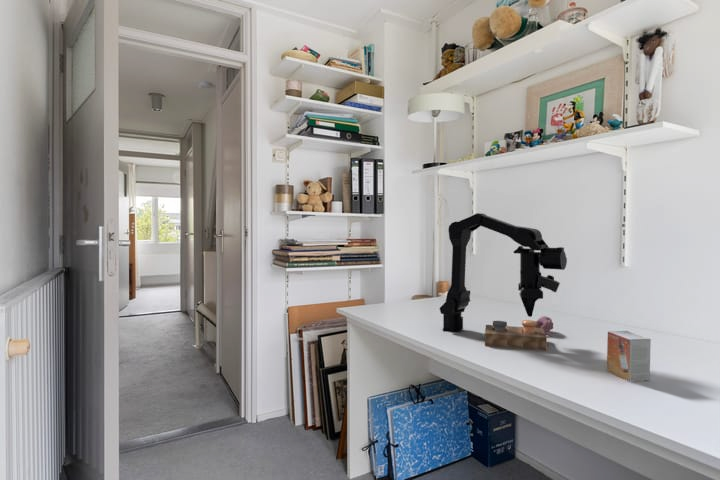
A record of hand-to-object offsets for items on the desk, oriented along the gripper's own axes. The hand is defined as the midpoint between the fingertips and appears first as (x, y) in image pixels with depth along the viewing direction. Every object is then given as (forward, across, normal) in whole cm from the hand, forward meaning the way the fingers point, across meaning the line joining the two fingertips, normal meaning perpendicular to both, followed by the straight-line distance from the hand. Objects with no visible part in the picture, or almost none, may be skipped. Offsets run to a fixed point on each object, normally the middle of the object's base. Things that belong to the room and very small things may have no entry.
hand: (529, 316), depth 132 cm
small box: (+9, -23, -21) cm, 33 cm away
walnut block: (+9, 0, +5) cm, 10 cm away
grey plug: (+9, 0, +9) cm, 13 cm away
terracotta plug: (+8, 0, 0) cm, 8 cm away
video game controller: (+9, +17, -5) cm, 20 cm away
